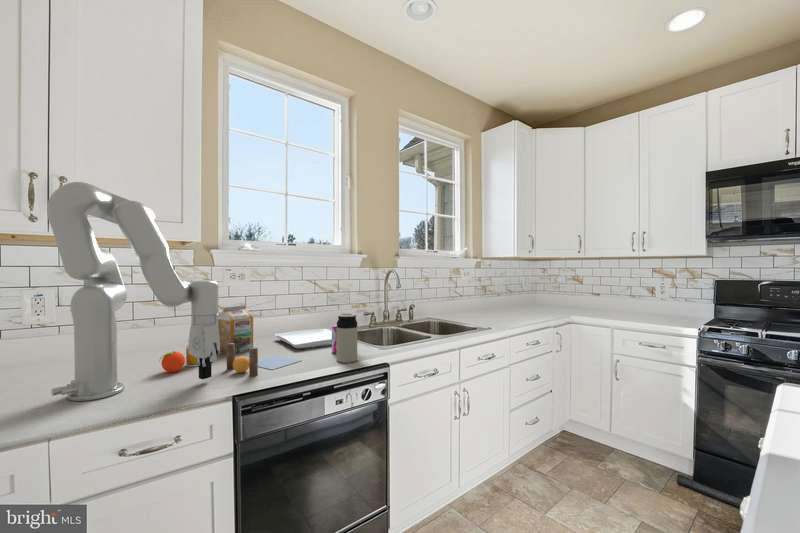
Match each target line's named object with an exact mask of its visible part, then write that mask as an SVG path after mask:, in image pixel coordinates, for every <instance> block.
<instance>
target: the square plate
mask: <svg viewBox="0 0 800 533" xmlns="http://www.w3.org/2000/svg"><path fill="white" fill-rule="evenodd" d="M274 336H275V337H276V338H277V339H279V340H280V341H282V342H285V343H286V344H288V345H290V346H292V347H293V348H294V349H295V348H296V349H301V348H303V349H311V348H310V347H312V348H319V347H325V346H332V329H328V328H315V329H302V330H296V331H289V332H287V331H286V332H280V333H275V334H274ZM318 346H319V347H318Z"/></svg>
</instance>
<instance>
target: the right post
mask: <svg viewBox="0 0 800 533" xmlns="http://www.w3.org/2000/svg"><path fill="white" fill-rule="evenodd" d="M258 350H259V348H258V347H253V348H250V349H249V351H248V354H249V356H248V359H249V368H248V369H249V376H250V377H255V376H256V377H257V376H258V375H259V370H258V369H259V367H258V360H259V355H258V354H259V353H258V352H259V351H258Z"/></svg>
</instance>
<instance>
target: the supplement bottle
mask: <svg viewBox="0 0 800 533" xmlns="http://www.w3.org/2000/svg"><path fill="white" fill-rule="evenodd" d="M187 342H188V343H189V338H188V341H187ZM185 350H186V351H185V356H186V357H185V365H186V367H190V368H194V367H199V366H198V361H197V358H195V357H194V356H192V355H190V354H189V344H187V345H186V347H185Z"/></svg>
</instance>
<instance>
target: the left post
mask: <svg viewBox="0 0 800 533" xmlns="http://www.w3.org/2000/svg"><path fill="white" fill-rule="evenodd" d="M235 357H236V354H235V343H228V344H227V354H226V370H227V371H234V369H233V362H234V360H235V359H236V358H235Z"/></svg>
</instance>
